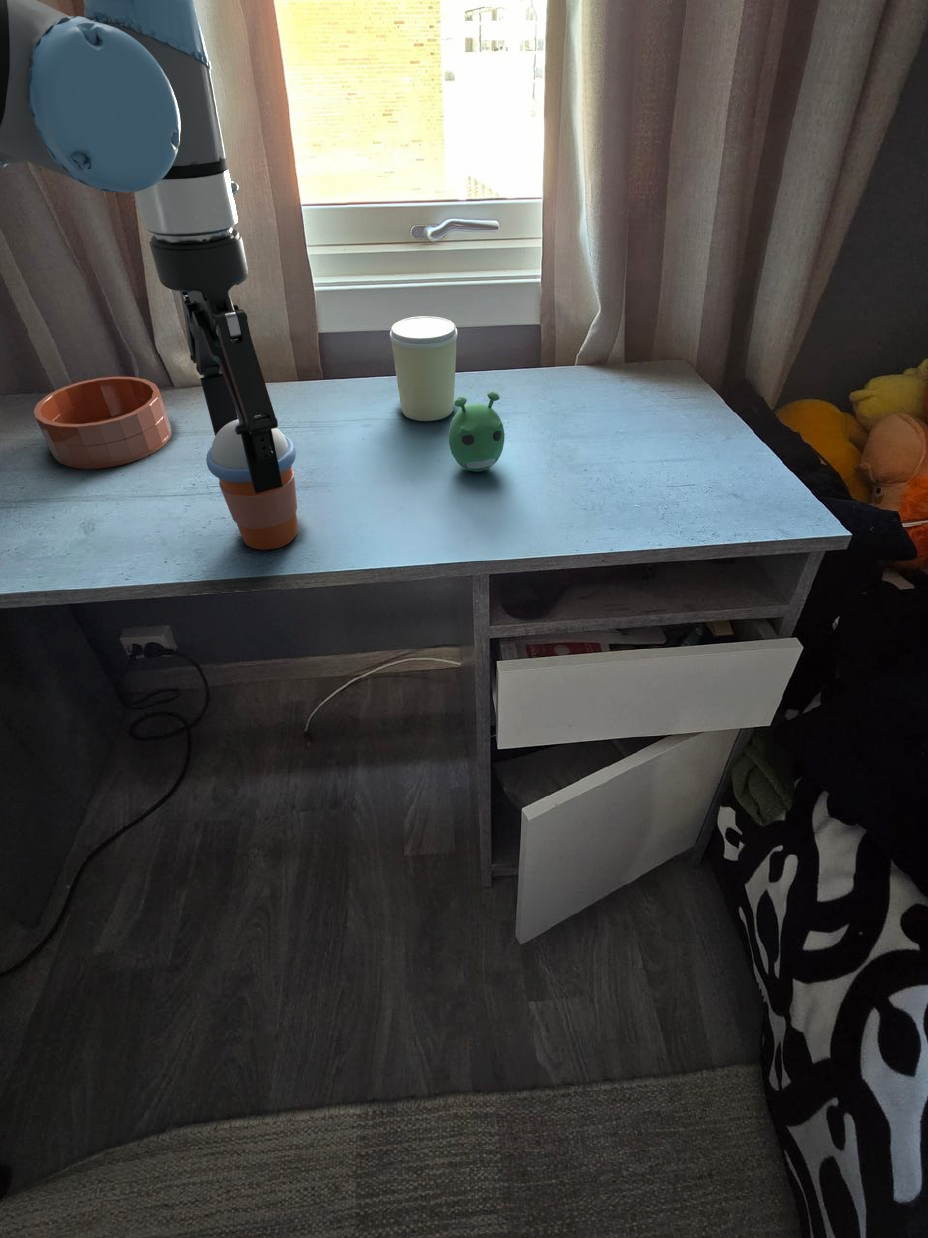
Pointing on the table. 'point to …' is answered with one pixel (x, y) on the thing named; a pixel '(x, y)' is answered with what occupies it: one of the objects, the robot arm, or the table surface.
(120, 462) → the bowl
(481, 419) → the alien toy
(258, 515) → the cup with straw
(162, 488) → the table surface
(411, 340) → the coffee cup
